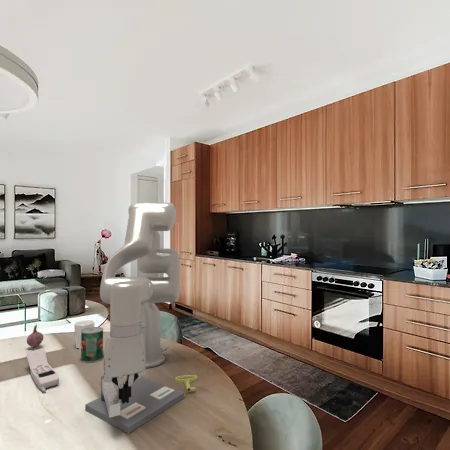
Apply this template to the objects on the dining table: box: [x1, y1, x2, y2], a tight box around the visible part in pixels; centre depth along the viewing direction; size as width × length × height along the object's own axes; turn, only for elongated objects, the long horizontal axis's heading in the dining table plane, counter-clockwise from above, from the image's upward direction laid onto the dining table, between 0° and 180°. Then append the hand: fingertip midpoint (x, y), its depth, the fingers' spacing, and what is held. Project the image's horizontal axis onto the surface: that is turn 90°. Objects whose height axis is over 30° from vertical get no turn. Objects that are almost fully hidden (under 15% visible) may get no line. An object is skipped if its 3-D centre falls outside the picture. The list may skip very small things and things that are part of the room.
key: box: [174, 374, 198, 393], centre depth 100 cm, size 7×12×2 cm, turn 30°
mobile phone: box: [25, 348, 60, 393], centre depth 104 cm, size 6×6×25 cm
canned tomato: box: [80, 326, 104, 364], centre depth 120 cm, size 8×8×11 cm
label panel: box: [84, 376, 185, 434], centre depth 88 cm, size 20×18×2 cm
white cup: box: [74, 319, 95, 350], centre depth 133 cm, size 8×8×10 cm
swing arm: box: [100, 375, 120, 418], centre depth 81 cm, size 3×17×6 cm, turn 28°
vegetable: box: [26, 324, 44, 349], centre depth 131 cm, size 6×6×10 cm
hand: (124, 400), depth 81 cm, fingers closed
